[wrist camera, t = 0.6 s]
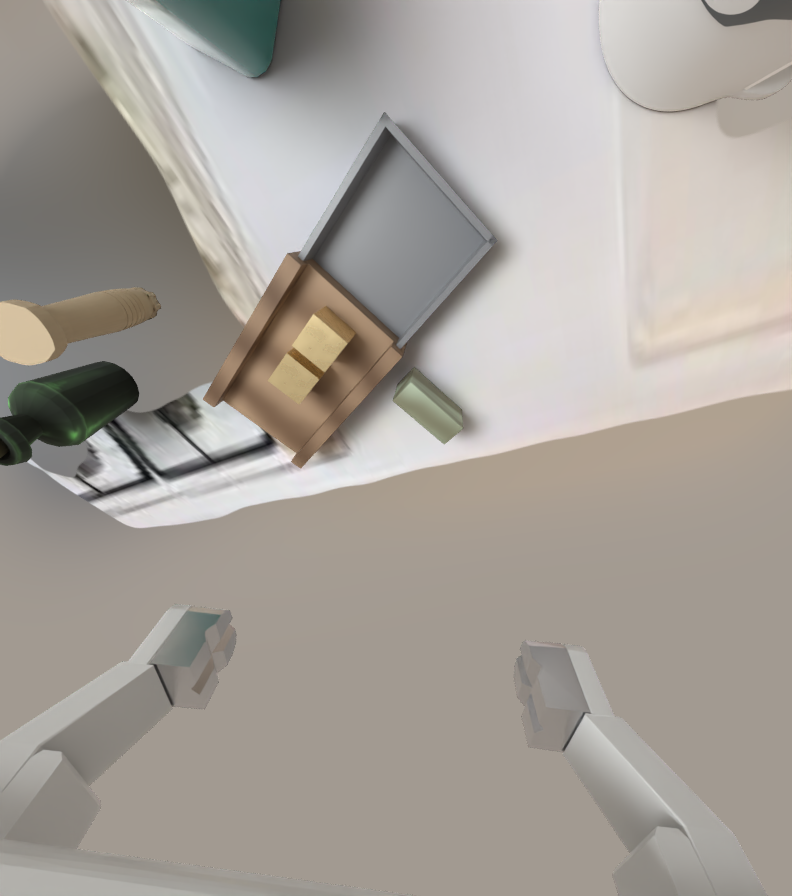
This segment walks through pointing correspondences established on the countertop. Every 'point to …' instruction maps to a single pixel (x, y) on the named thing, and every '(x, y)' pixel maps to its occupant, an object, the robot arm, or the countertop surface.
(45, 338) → the handle
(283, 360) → the brass block
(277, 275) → the slot board
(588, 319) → the countertop surface
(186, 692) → the robot arm
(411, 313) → the tray
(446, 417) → the bar
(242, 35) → the pitcher
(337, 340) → the brass block
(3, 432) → the potion bottle
